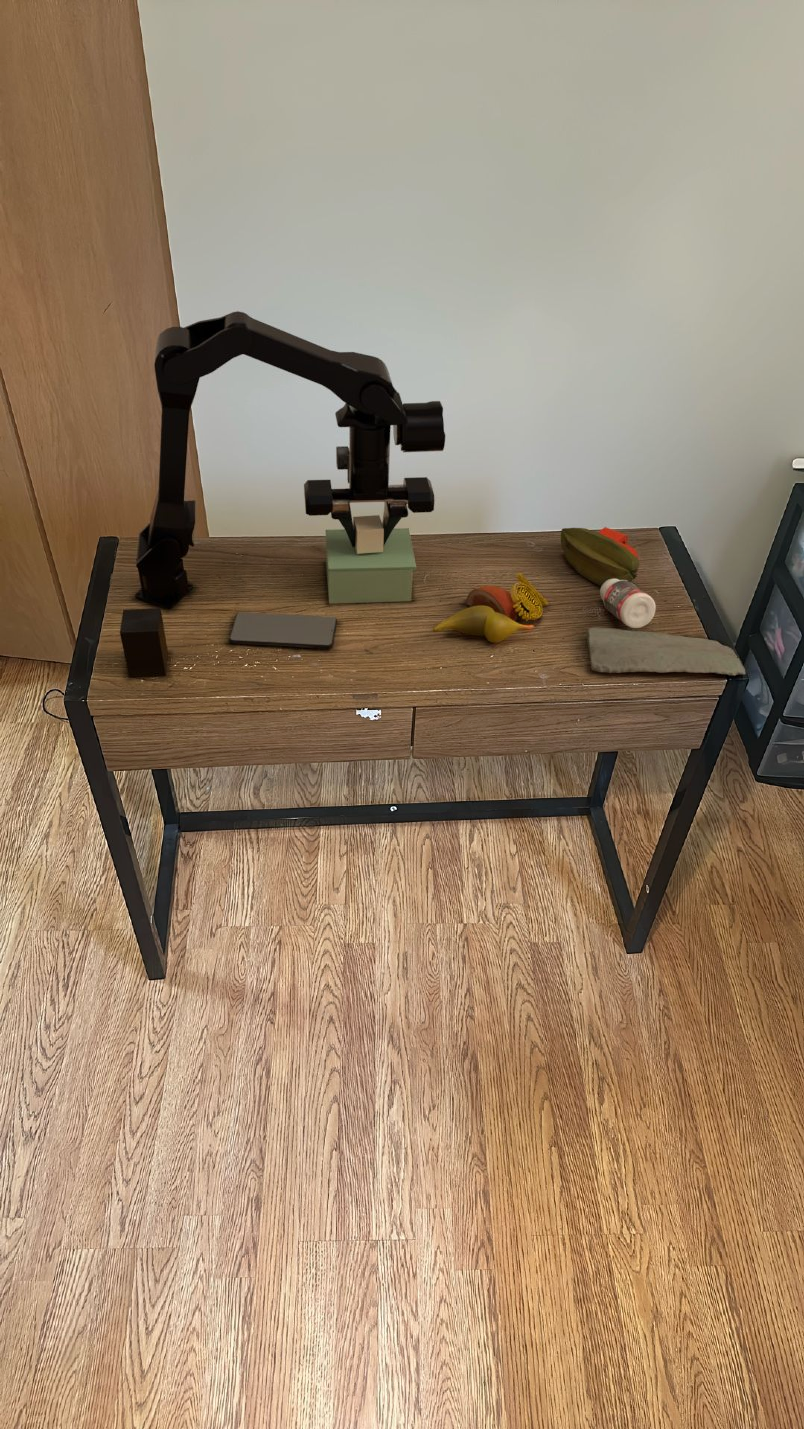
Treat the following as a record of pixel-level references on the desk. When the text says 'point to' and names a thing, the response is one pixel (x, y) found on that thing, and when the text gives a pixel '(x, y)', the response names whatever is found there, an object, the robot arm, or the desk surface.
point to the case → (369, 586)
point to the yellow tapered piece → (482, 623)
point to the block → (368, 534)
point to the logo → (527, 599)
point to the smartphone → (283, 630)
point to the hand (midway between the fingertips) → (367, 545)
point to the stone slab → (657, 653)
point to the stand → (144, 642)
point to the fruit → (597, 556)
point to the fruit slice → (493, 600)
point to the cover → (392, 557)
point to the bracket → (618, 538)
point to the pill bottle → (627, 602)
